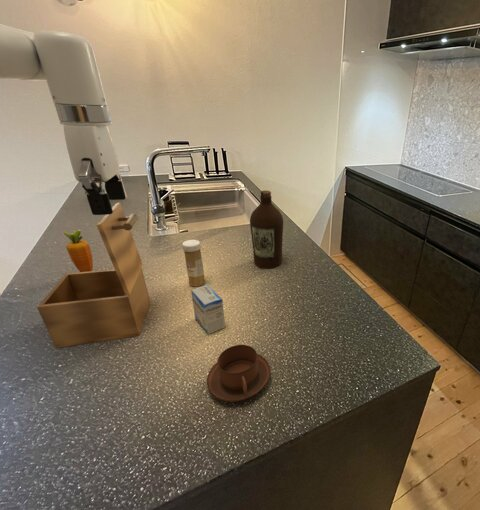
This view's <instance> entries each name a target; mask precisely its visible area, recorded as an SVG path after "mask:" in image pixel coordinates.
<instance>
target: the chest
mask: <svg viewBox="0 0 480 510" xmlns="http://www.w3.org/2000/svg"><path fill="white" fill-rule="evenodd" d="M150 304H151V299H150V295H149V292H148V286H147V283H146V280H145V275H144V271H143V267H142V268H141V270H140V273H139V275H138V277H137V280H136V282H135V284H134V286H133V289H132V291H131V293H130V295H125V292H124V290H123V287H122V285H121V283H120V280H119V278H118V275H117V273H116V271H115V268H113V269H103V270H102V269H101V270H92V271H89V272H80V271H79V272H70V273H69V272H68V273H65V274H64V275H63V276H61V278H60V279H59V281H57V283H56V284H55V285H54V286H53V287H52V289H51V290H50V291H49V292H48V293H47V295H46V296H45V297H44V298H43V300H42V301H41V302H40V303H39V304H38V305H37V306H36V308H37V311H38V313H39V315H40V318H41V319H42V321H43V323H44V326H45V329H46V330H47V332H48V335H49V337H50V339H51V341H52V343H53V345H54V348H55V349H58V348H64V347H72V346H78V345H79V346H80V345H85V344H86V345H87V344H91V343H99V342H103V341H104V342H106V341H111V340H112V341H113V340H118V339H119V340H120V339H125V338H132V337H139V336H140V335H141V331H142V329H143V325H144V323H145V319H146V317H147V313H148V311H149V307H150Z"/></svg>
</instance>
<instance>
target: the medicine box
mask: <svg viewBox="0 0 480 510" xmlns="http://www.w3.org/2000/svg"><path fill="white" fill-rule="evenodd" d="M190 293H191V294H190V295H191V300H192V306H193V313H194V319H195V320H196V321H197V322H198V324H199V325H200V326H201V328H202V329H203V330H204V331H205V332H206V333H207V335H210V334H212V333H215V332H217V331H220V330H222V329H224V328H226V318H225V311H224V301H223V299H222V297H220V295H219V294H218V293H217V292H216V291H215V290H213V288H212V287H211V286H210V285H209V284H207V285H202V286H198V287H197V288H194V289H191V290H190Z"/></svg>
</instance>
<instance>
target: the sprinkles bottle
mask: <svg viewBox="0 0 480 510" xmlns="http://www.w3.org/2000/svg"><path fill="white" fill-rule="evenodd" d="M181 246H182V250H183V253H184V258H185V265H186V273H187V279H188V284H189V286H191V287H201V286H204V284H205V283H206V279H205V271H204V263H203V257H202V252H201V247H202V246H201V241H200V240H198V239H188V240H185V241H183V242H182V244H181Z"/></svg>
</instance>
